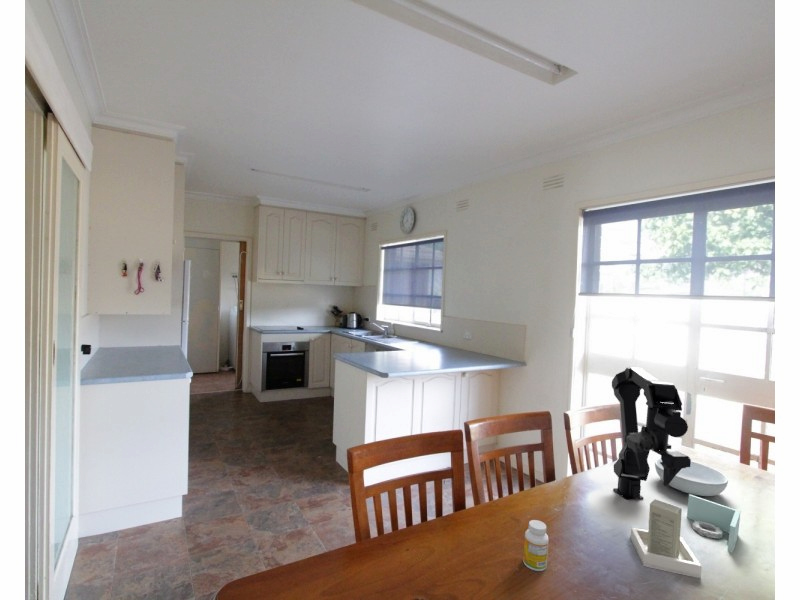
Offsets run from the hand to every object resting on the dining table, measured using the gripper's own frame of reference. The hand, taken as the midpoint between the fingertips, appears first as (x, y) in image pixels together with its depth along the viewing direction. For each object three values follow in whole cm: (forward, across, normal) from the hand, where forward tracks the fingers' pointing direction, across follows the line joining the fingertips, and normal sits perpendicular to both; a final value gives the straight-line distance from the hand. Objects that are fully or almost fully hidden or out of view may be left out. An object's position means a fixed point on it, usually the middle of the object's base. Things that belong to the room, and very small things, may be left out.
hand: (653, 477), depth 121 cm
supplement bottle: (+13, +15, -44) cm, 48 cm away
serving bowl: (+13, -18, +31) cm, 38 cm away
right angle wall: (+14, +6, +13) cm, 20 cm away
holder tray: (+13, +15, -9) cm, 22 cm away
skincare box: (+12, +15, -9) cm, 21 cm away
